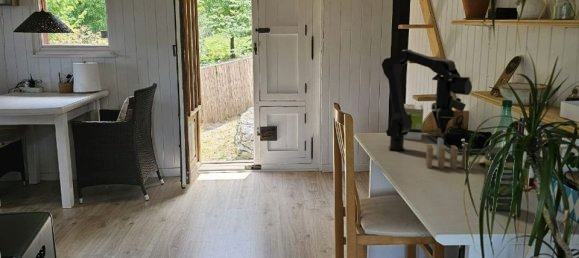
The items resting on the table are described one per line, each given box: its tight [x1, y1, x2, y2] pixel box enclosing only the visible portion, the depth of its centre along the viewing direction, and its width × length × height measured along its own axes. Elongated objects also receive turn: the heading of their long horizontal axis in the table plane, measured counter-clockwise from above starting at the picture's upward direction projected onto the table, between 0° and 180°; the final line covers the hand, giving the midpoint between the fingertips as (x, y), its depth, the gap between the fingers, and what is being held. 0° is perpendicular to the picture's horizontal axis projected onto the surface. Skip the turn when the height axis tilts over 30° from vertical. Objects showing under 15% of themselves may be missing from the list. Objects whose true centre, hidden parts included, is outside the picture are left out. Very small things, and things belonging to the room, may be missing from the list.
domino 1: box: [425, 144, 434, 169], centre depth 208 cm, size 5×2×8 cm, turn 174°
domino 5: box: [461, 145, 471, 171], centre depth 206 cm, size 5×2×8 cm, turn 174°
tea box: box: [404, 103, 424, 141], centre depth 260 cm, size 15×10×15 cm
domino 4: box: [449, 145, 459, 170], centre depth 207 cm, size 5×2×8 cm, turn 174°
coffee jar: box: [479, 146, 514, 212], centre depth 162 cm, size 10×8×19 cm
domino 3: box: [437, 144, 446, 170], centre depth 207 cm, size 5×2×8 cm, turn 174°
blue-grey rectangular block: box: [436, 137, 445, 160], centre depth 220 cm, size 5×2×8 cm, turn 174°
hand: (441, 130), depth 218 cm, fingers open, 9 cm apart
